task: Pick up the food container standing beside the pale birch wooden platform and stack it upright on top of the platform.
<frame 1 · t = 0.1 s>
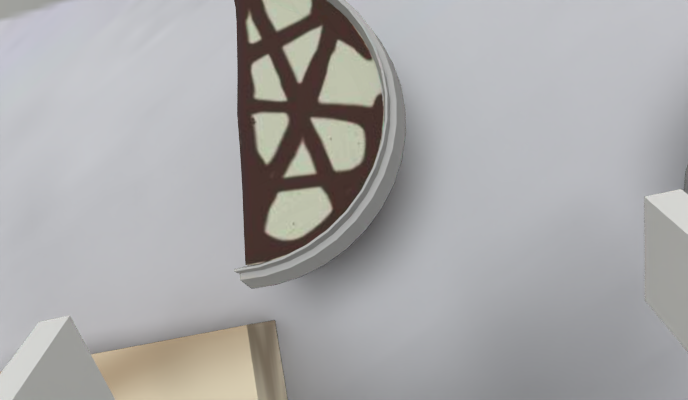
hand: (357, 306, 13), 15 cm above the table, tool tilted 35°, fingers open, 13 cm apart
food container: (347, 166, 30), on the table
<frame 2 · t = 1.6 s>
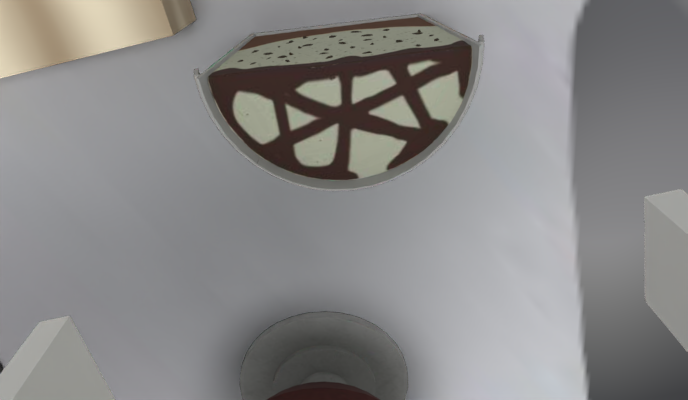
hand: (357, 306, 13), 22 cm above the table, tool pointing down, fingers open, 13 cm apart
mate gourd: (318, 384, 43), on the table
food container: (342, 77, 33), on the table
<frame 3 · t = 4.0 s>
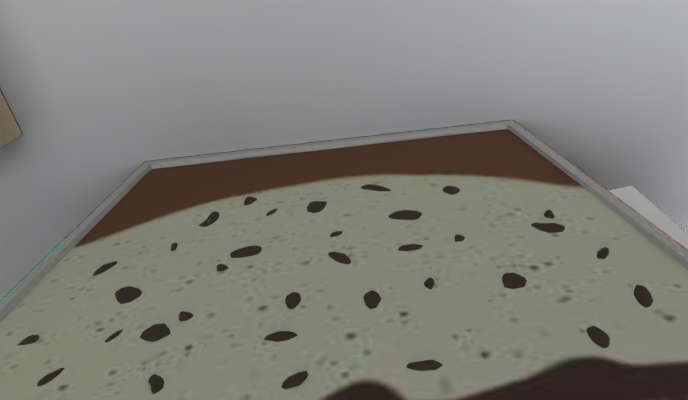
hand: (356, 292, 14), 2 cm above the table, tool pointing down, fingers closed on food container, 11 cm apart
food container: (340, 242, 16), on the table, touching gripper
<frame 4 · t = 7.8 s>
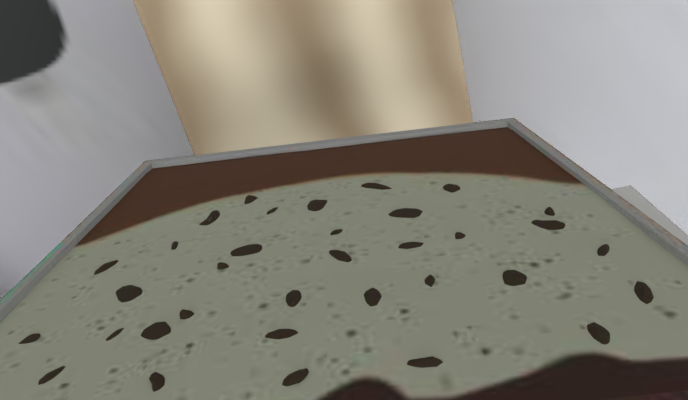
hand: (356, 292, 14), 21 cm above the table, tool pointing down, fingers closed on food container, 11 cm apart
food container: (341, 241, 16), point 19 cm above the table, touching gripper
birch platform: (320, 65, 32), on the table
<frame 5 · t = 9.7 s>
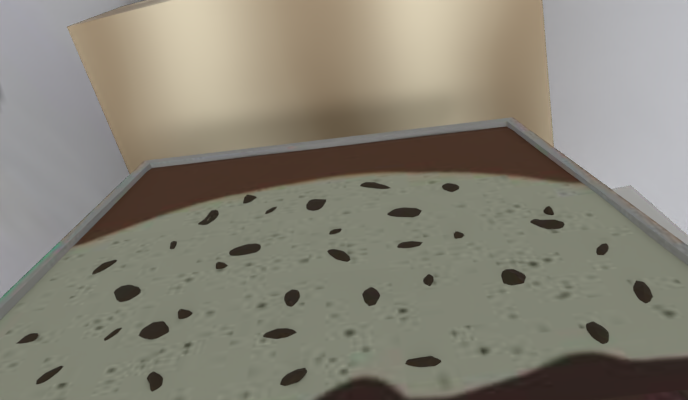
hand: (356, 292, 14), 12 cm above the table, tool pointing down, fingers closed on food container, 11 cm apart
food container: (340, 240, 16), point 9 cm above the table, touching gripper
birch platform: (344, 136, 24), on the table
when the fingers open (9 cm above the table, at t = 11.4 s): food container drops 1 cm, resting on birch platform.
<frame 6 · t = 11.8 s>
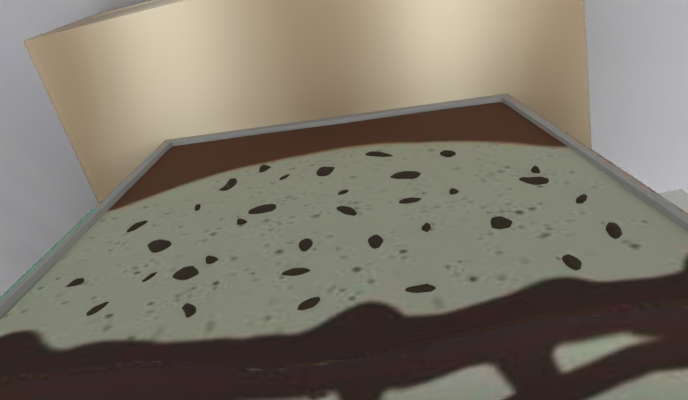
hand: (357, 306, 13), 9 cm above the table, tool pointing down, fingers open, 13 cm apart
food container: (348, 213, 17), point 5 cm above the table, touching birch platform
birch platform: (348, 159, 21), on the table
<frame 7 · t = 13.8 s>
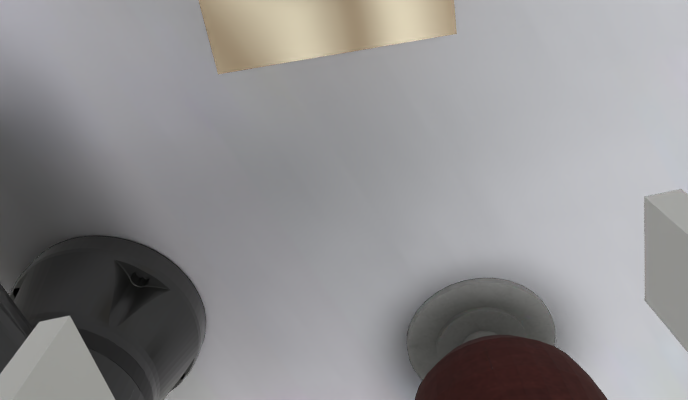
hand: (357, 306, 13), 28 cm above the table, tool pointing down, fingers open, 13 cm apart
mate gourd: (472, 343, 49), on the table
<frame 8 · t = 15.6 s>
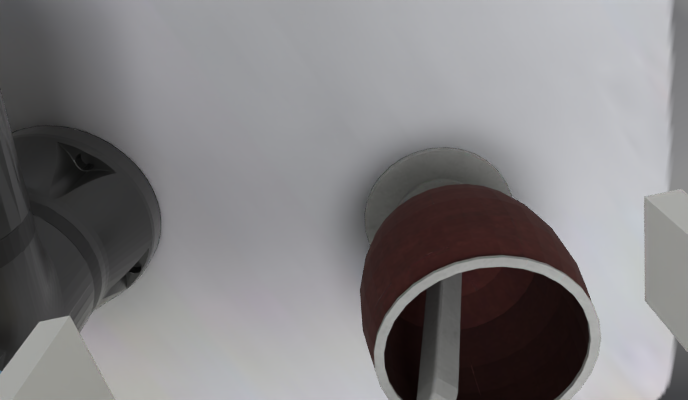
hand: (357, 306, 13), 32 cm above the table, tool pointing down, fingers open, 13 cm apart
mate gourd: (431, 222, 48), on the table
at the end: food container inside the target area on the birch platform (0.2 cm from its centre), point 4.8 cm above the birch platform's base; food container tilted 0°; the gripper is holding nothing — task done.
